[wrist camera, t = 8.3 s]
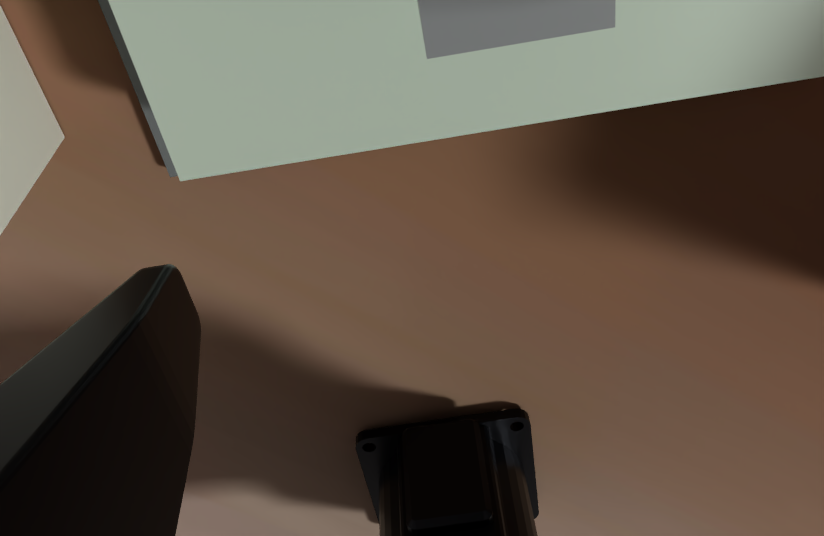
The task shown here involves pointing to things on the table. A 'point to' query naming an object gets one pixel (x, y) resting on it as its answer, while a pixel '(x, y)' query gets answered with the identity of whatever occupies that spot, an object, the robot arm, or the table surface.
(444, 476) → the robot arm
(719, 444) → the table surface
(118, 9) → the lid
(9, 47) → the storage box
